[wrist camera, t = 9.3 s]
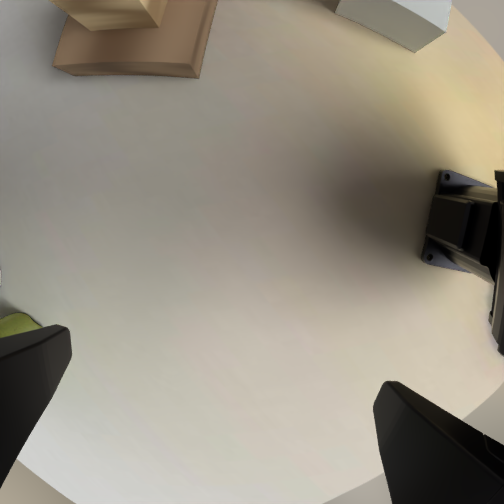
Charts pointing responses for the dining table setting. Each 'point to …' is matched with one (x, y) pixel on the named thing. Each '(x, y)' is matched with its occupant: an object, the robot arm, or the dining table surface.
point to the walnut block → (140, 44)
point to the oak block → (114, 13)
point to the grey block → (400, 19)
